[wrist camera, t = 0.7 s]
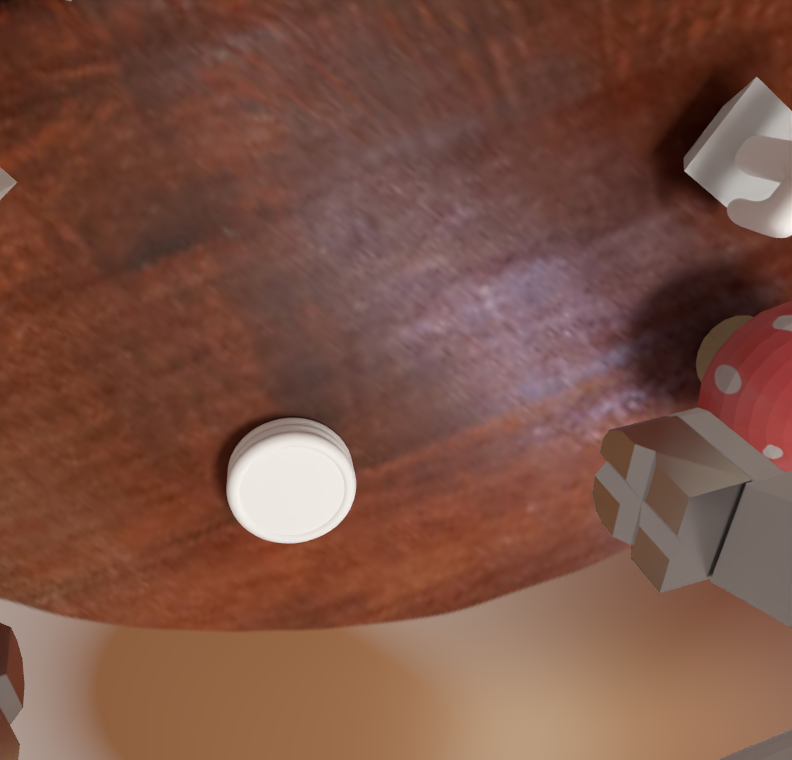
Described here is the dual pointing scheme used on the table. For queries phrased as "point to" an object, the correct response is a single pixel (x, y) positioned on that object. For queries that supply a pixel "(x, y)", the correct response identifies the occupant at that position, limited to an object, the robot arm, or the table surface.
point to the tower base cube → (5, 182)
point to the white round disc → (290, 480)
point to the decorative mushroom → (751, 380)
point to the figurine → (748, 160)
